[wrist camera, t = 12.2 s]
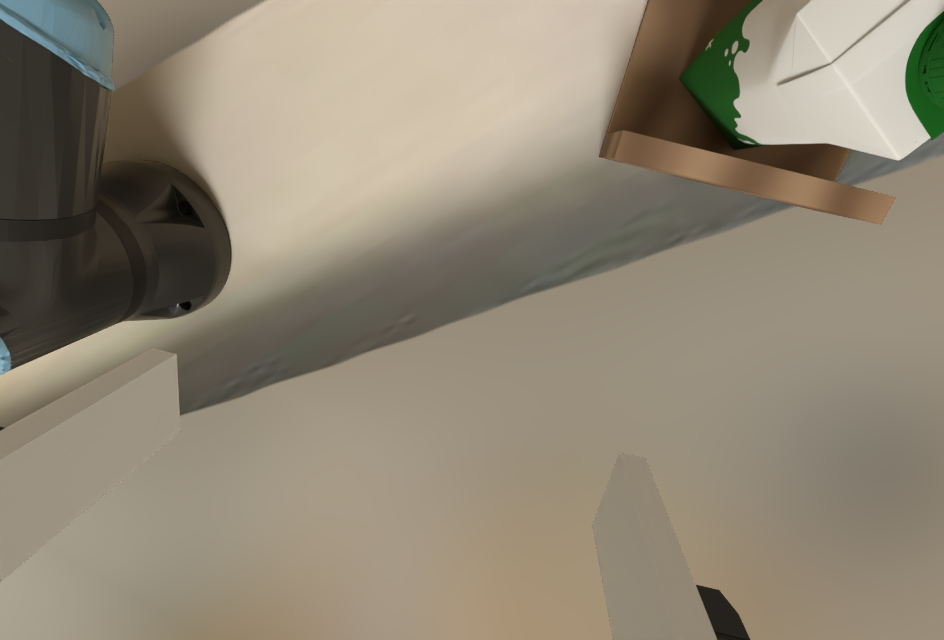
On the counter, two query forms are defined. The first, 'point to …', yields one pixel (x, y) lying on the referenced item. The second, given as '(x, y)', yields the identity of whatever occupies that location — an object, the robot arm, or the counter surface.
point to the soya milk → (826, 75)
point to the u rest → (698, 140)
